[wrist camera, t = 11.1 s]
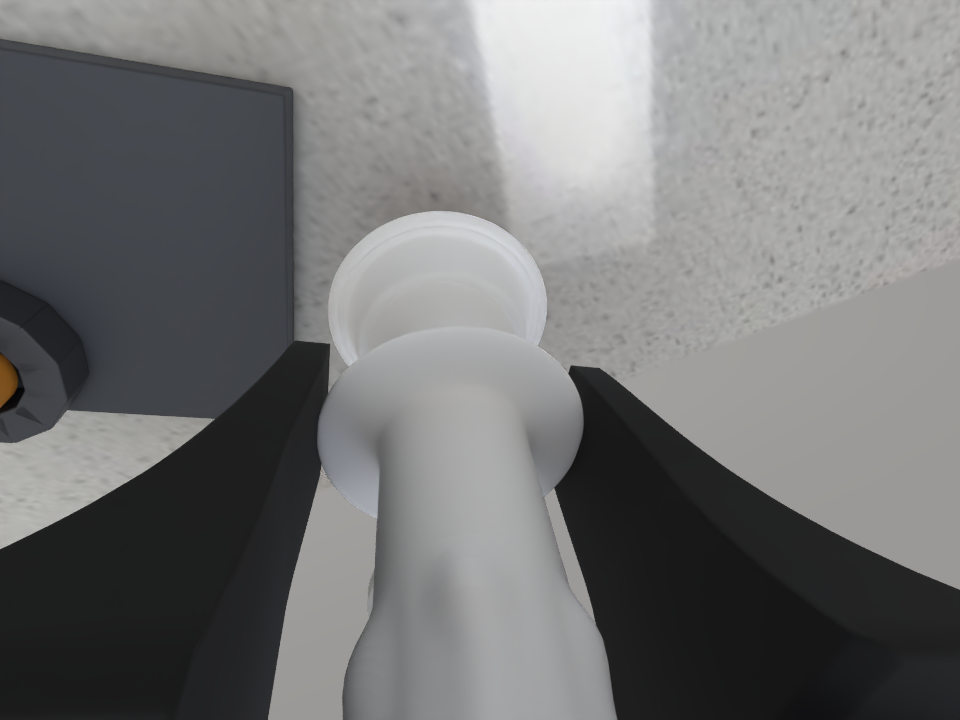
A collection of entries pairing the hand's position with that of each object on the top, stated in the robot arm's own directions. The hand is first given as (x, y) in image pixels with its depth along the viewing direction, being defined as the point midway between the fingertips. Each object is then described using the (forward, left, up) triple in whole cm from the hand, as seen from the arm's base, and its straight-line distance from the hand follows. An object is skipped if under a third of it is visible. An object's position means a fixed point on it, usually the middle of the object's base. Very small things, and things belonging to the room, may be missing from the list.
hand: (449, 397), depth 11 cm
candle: (0, 0, -4) cm, 4 cm away
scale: (-2, +11, -10) cm, 15 cm away
